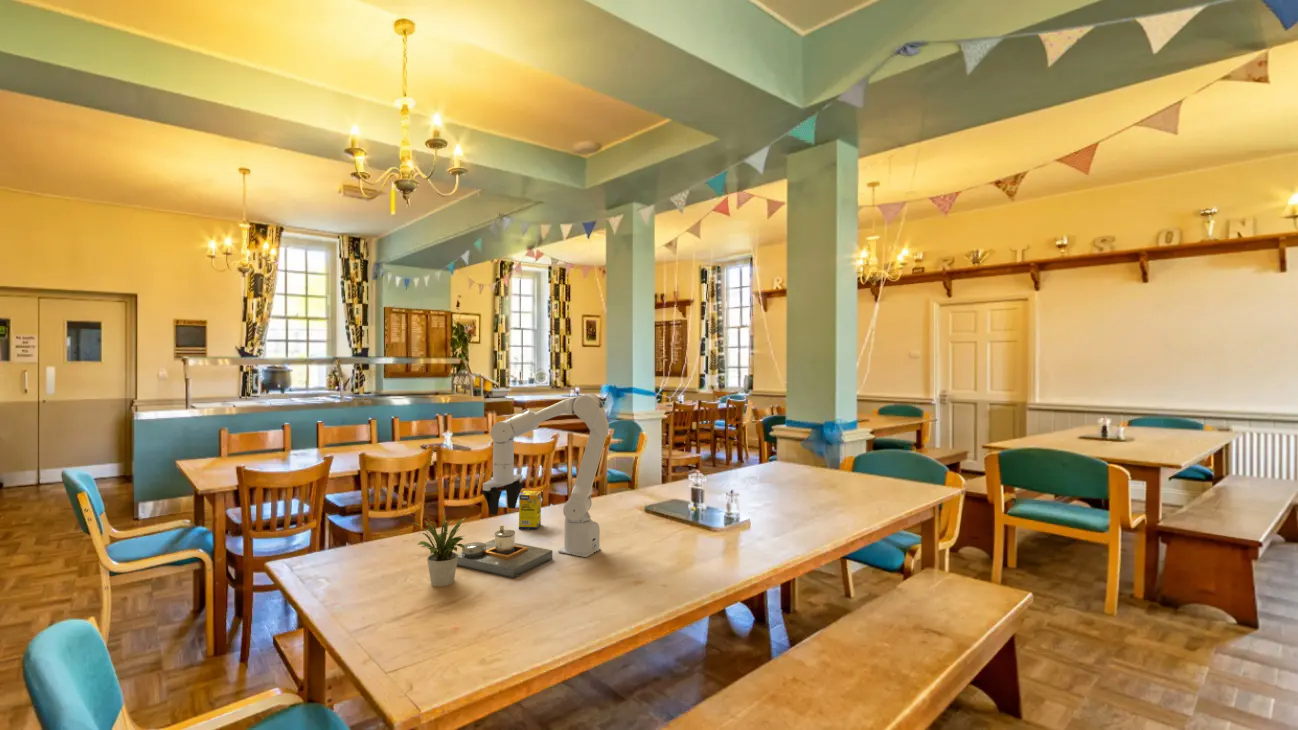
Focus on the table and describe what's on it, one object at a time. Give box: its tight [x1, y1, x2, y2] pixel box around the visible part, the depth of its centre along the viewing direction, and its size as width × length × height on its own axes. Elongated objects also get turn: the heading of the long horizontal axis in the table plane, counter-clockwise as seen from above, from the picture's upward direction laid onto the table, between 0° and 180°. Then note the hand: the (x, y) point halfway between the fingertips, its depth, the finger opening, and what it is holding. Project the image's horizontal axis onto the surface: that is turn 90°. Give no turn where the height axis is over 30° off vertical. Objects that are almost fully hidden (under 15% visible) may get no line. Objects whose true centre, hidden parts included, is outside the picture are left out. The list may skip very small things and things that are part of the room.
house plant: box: [413, 514, 469, 587], centre depth 140 cm, size 14×14×16 cm
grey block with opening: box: [456, 538, 553, 580], centre depth 155 cm, size 20×16×4 cm
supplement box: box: [518, 490, 542, 530], centre depth 188 cm, size 6×6×11 cm
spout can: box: [494, 525, 516, 555], centre depth 156 cm, size 5×5×9 cm
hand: (502, 511), depth 167 cm, fingers open, 7 cm apart
